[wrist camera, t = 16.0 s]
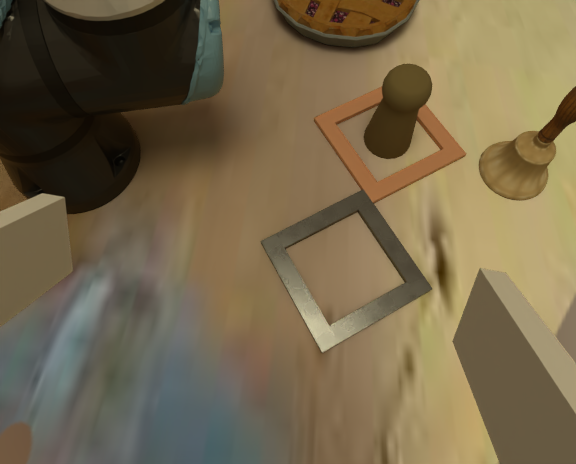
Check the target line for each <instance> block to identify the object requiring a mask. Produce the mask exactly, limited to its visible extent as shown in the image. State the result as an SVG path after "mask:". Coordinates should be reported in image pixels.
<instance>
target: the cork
mask: <svg viewBox="0 0 576 464" xmlns="http://www.w3.org/2000/svg"><path fill="white" fill-rule="evenodd" d="M431 90H432V82H431V78H430V76H429V74H428V73H427V71H425V70H424V69H423V68H422V67H419V66H417V65H413V64H402V65H399V66H397V67H395V68H394V69H392V70H391V71H390V72H389V73H388V74H387V76H386V77H385V79H384V82H383V86H382V95H383V98H382V100H381V102H380V104H379V106H378V108H377V109H376V111H375V113H374V115H373V117H372V119H371V121H370V123H369V124H368V126H367V128H366V130H365V133H364V142H365V145H366V146H367V148H368V149H369V150H370V151H371V152H372V153H373V154H374V155H376V156H378V157H381V158H386V159H391V158H397V157H399V156H402V155H403V154H404V153H405V152H406V151H407V150H408V148H409V147H410V143H411V139H412V135H413V131H414V127H415V123H416V119H417V115H418V112H419V109H420V108H421V107H423V106H424V105H425V104H426V102H427V101H428V99H429V97H430V95H431Z"/></svg>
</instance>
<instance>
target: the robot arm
mask: <svg viewBox="0 0 576 464" xmlns="http://www.w3.org/2000/svg"><path fill="white" fill-rule="evenodd" d="M220 24H221V23H220V9H219V0H0V159H1V161H2V163H3V165H4V167H5V169H6V170H7V172H8V174H9V176H10V178H11V180H12V182H13V183H14V185H15V186H16V188H17V189H18V190H19V191H20V192H21V193H22V194H23V195H24V196H25V197H27V198H28V200H26V201H23V202H21V203H19V204H16V205H14V206H12V207H9V208H7V209H5V210H2V211H0V327H1V326H2V325H4V324H5V323H6V322H7V321H9V320H10V319H11V318H13V317H14V316H15V315H17V314H18V313H19V312H20V311H22V310H23V309H24V308H26V307H27V306H28V305H30V304H31V303H32V302H34V301H35V300H36V299H37V298H39V297H40V296H41V295H43V294H44V293H45V292H47V291H48V290H49V289H50V288H52V287H53V286H54V285H56V284H57V283H58V282H60V281H61V280H62V279H63V278H65V277H66V276H67V275H69V274H70V273H71V272H73V267H72V258H71V249H70V240H69V231H68V222H67V214H71V213H80V212H85V211H89V210H92V209H95V208H97V207H100V206H102V205H104V204H105V203H107V202H109V201H110V200H112V199H113V198H115V197H116V196H117V195H118V194H120V193H121V192H122V191H123V190H124V189H125V188H126V186H127V185H128V184H129V183H130V181H131V180H132V178H133V176H134V174H135V172H136V170H137V167H138V164H139V160H140V145H139V141H138V138H137V135H136V133H135V132H134V130H133V128H132V127H131V125H130V123H129V122H128V120H127V119H126V118H125V117H124V116H123V115H122V114H121V113H120V112H126V111H134V110H141V109H149V108H157V107H164V106H172V105H180V104H182V105H185V104H188V103H189V102H191V101H195V100H200V99H205V98H209V97H212V96H214V95H216V94H217V93H218V92H219V91H220V89H221V87H222V84H223V78H224V61H223V44H222V33H221V28H220ZM453 344H454V346H455V349H456V351H457V354H458V357H459V359H460V362H461V364H462V367H463V370H464V372H465V375H466V377H467V380H468V382H469V385H470V388H471V390H472V393H473V395H474V398H475V400H476V403H477V406H478V408H479V411H480V413H481V416H482V419H483V421H484V424H485V426H486V429H487V431H488V434H489V437H490V439H491V442H492V444H493V447H494V450H495V452H496V455H497V457H498V460H499V462H500V464H576V363H575V362H574V360H573V359H572V358H571V357H570V355H569V354H568V353H567V351H566V350H565V349H564V347H563V346H562V345H561V344H560V342H559V341H558V340H557V338H556V337H555V336H554V334H553V333H552V332H551V330H550V329H549V328H548V327H547V325H546V324H545V323H544V321H543V320H542V319H541V317H540V316H539V315H538V314H537V312H536V311H535V310H534V308H533V307H532V306H531V304H530V303H529V302H528V301H527V299H526V298H525V297H524V295H523V294H522V293H521V291H520V290H519V289H518V288H517V286H516V285H515V284H514V282H513V281H512V280H511V278H510V277H509V276H508V275H507V273H505V272H499V271H493V270H488V269H482V268H480V269H479V272H478V274H477V277H476V280H475V282H474V285H473V288H472V291H471V293H470V296H469V299H468V301H467V304H466V307H465V309H464V312H463V315H462V317H461V320H460V323H459V325H458V328H457V331H456V333H455V336H454V339H453Z"/></svg>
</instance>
